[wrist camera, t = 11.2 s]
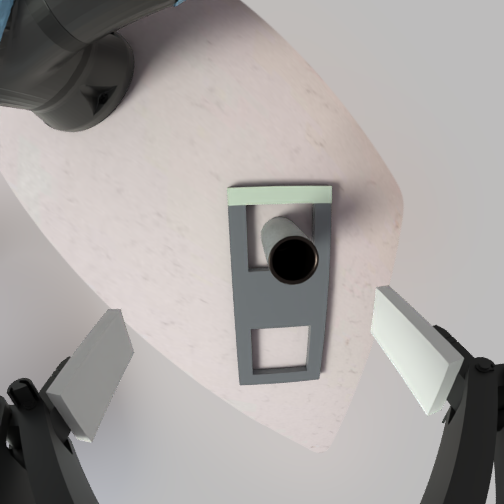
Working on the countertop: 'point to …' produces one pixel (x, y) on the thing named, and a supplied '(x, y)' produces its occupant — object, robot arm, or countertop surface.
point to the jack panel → (279, 283)
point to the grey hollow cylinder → (288, 251)
